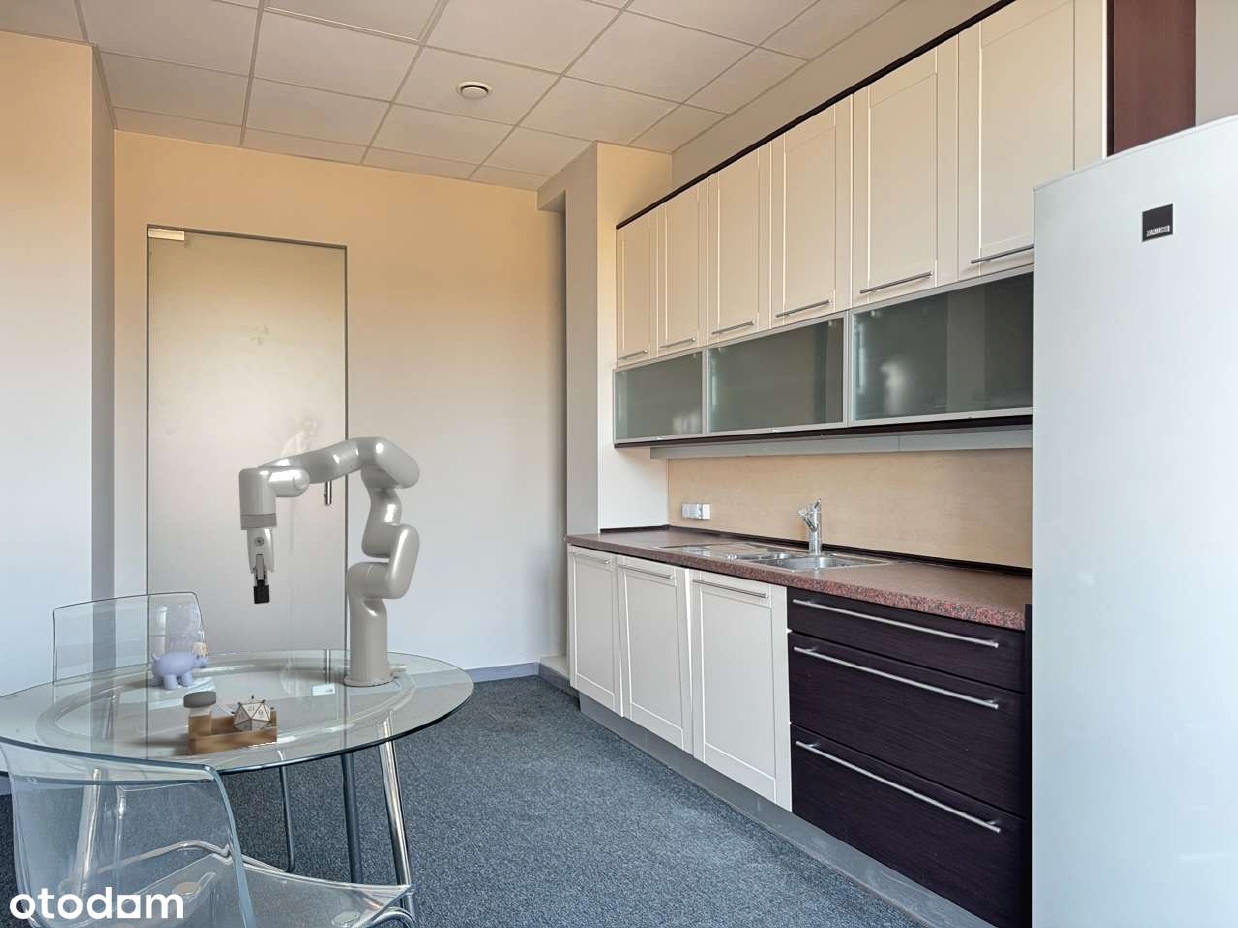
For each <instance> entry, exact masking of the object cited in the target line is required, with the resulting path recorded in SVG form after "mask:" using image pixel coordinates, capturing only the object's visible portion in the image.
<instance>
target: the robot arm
mask: <svg viewBox="0 0 1238 928" xmlns="http://www.w3.org/2000/svg"><path fill="white" fill-rule="evenodd" d="M416 461H417V460H415V458H413V457H412V456H411V455H409V453H407V452H405V450H403V449H402V448H400V447H399V446H398V445H397V444H395V443H394V442H393V441H391V440H389V439H387V438H386V437H384V436H359V437H357V436H356V437H351V438H348V439H345V440H342V441H339V442H336V443H333V444H331V445H328V446H325V447H324V446H323V447H322V448H321V447H320V448H319V449H315V450H310V451H307V452H303V453H299V454H296V455H295V454H294V455H291V456H287V457H283V458H279V459H276V460H272V461H269V462H266V463H263V464H261V465H259V466H257V467H246V468H242V469H241V470H240V471H239V473H238V497H239V498H238V500H239V503H238V504H239V521H240V522H239V524H240V526H239V527H240V531H246V543H247V544H246V545H247V557H248V564H249V570H250V574H252V575H253V579H254V580H253V581H254V584H253V586H252V587H253V603H254V604H255V605H261V604H262V605H263V604H269V603H270V601H271V599H270V584H268V583H269V581H268V572H269V571H270V573H271V574H272V573H273V572H275V554H274V535H273V529H277V527H278V526H277V525H278V524H277V523H278V522H277V520H278V519H277V501H276V499H277V498H287V499H288V498H297V497H299V496H302V495H303V494H305V492H307V490H308V489H309V486H310V485H312V484H313V485H314V484H323V483H328V482H334V481H335V480H338V479H341V478H343V477H345V476H348V475H350V474H353V473H355V472H358V471H360V478H361V481H362V483H363V485H364V486H365V488H366V489H365V490H366V491H367V494H368V495H369V499H370V506H369V507H370V508H369V512H368V515H367V520H366V524H365V527H364V530H363V535H362V539H361V545H360V547H361V551H362V553H363V554H364V556H367V557H370V558H374V559H385V560H387V559H388V562H383V561H359V562H357V563H354V564H353V565H351V566H350V567H349V568H348V570H347V572H346V574H345V578H344V581H345V583H344V584H345V589H346V594H347V598H348V599H347V600H348V606H349V649H350V650H349V662H350V663H349V665H350V667H349V668H350V672H349V673H350V674H349V675H346V676H345V677H344V679H343V682H344V684H345V685H347V686H350V687H374V686H380V685H384V683H385V684H387V682H388V683H391V682H392V681H393V680H394V678H395V677H394V673H396V672H399V673H400V672H406V671H407V670H406V669H407V666H406V663H390V662H389V660H388V612H387V608H386V607H387V606H386V605H385V602H384V601H383V600H397V599H402V598H403V597H405V596H406V595H407V593H408V591H409V589H410V587H411V584H412V580H413V576H414V572H415V567H416V565H417V559H418V556H419V551H420V545H421V543H420V536H419V533H418V531H417V529H416V528H415V526H413V525H411V524H407V523H401V518H402V512H403V505H402V502H401V499H400V497H399V495H398V493H397V492H396V490H397V489H403V490H405V489H410V488H412V487H414V486H415V485H416V484H417V483H418V481H419V478H420V467H419V465H418V462H416ZM395 489H396V490H395ZM379 684H380V685H379ZM373 685H374V686H373Z"/></svg>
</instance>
